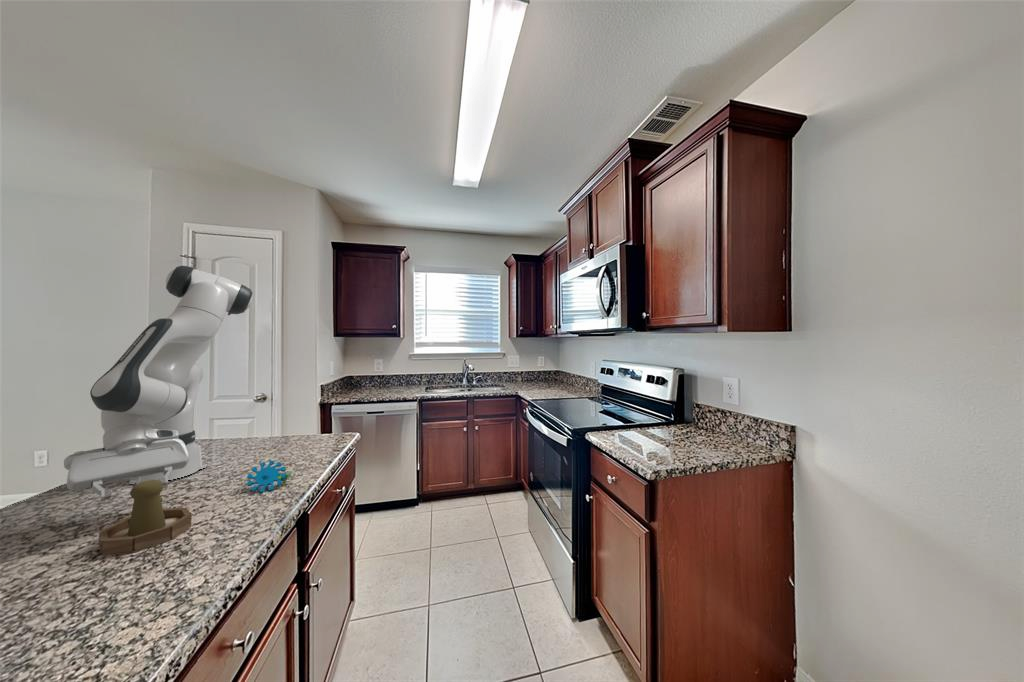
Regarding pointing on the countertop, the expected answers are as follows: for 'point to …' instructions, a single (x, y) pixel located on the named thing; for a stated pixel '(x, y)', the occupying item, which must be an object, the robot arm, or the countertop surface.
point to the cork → (146, 508)
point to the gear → (267, 476)
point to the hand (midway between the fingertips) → (136, 491)
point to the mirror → (121, 543)
